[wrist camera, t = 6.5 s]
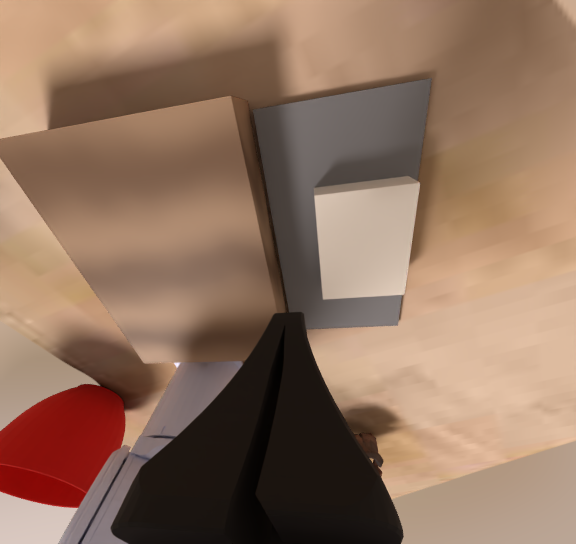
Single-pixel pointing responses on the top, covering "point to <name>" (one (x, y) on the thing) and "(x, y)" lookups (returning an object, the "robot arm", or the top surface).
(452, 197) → the top surface
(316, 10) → the top surface
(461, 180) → the top surface
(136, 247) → the block
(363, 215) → the tile
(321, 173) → the mat
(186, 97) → the top surface
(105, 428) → the ceramic cup
